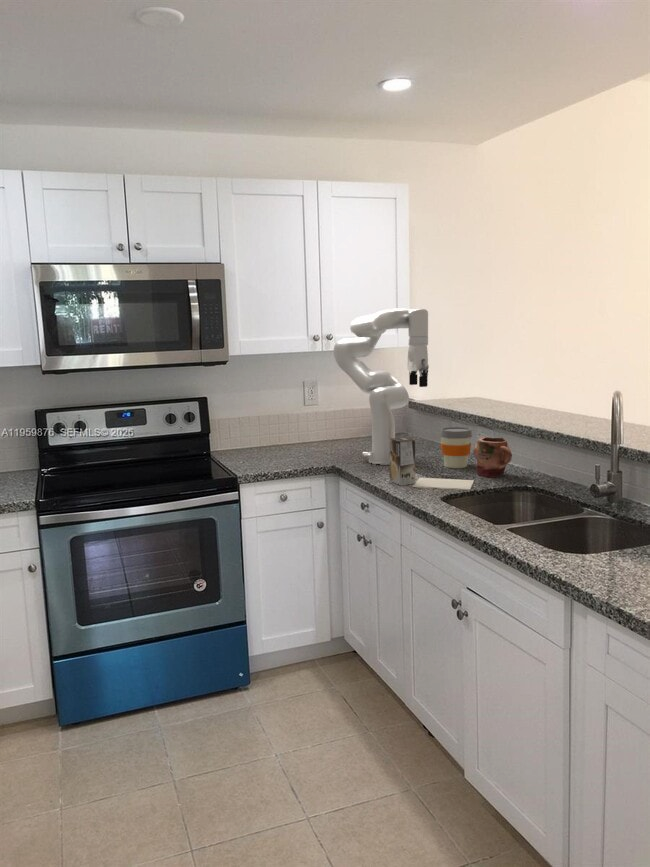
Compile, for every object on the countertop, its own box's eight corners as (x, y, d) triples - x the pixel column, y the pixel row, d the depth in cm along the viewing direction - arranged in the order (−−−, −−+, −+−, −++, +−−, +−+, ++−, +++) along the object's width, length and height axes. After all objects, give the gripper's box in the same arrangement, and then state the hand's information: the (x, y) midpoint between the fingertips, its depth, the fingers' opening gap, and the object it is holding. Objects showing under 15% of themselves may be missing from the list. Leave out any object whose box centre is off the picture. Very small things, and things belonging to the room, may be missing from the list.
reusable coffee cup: (446, 461, 296) (447, 426, 294) (475, 464, 290) (476, 428, 287) (435, 467, 285) (435, 430, 283) (465, 470, 279) (465, 432, 277)
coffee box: (416, 484, 257) (416, 440, 255) (400, 486, 255) (400, 441, 252) (403, 479, 265) (403, 436, 263) (388, 481, 263) (388, 438, 261)
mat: (412, 487, 252) (412, 486, 252) (419, 479, 265) (419, 477, 265) (469, 490, 246) (469, 488, 246) (474, 481, 259) (474, 480, 259)
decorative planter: (524, 478, 263) (525, 441, 261) (500, 482, 257) (501, 444, 255) (486, 469, 280) (487, 434, 278) (463, 472, 274) (463, 437, 272)
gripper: (400, 341, 281) (401, 384, 284) (418, 342, 265) (418, 388, 268) (418, 340, 283) (418, 383, 286) (436, 341, 267) (436, 387, 270)
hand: (418, 385), depth 277 cm, fingers open, 9 cm apart
